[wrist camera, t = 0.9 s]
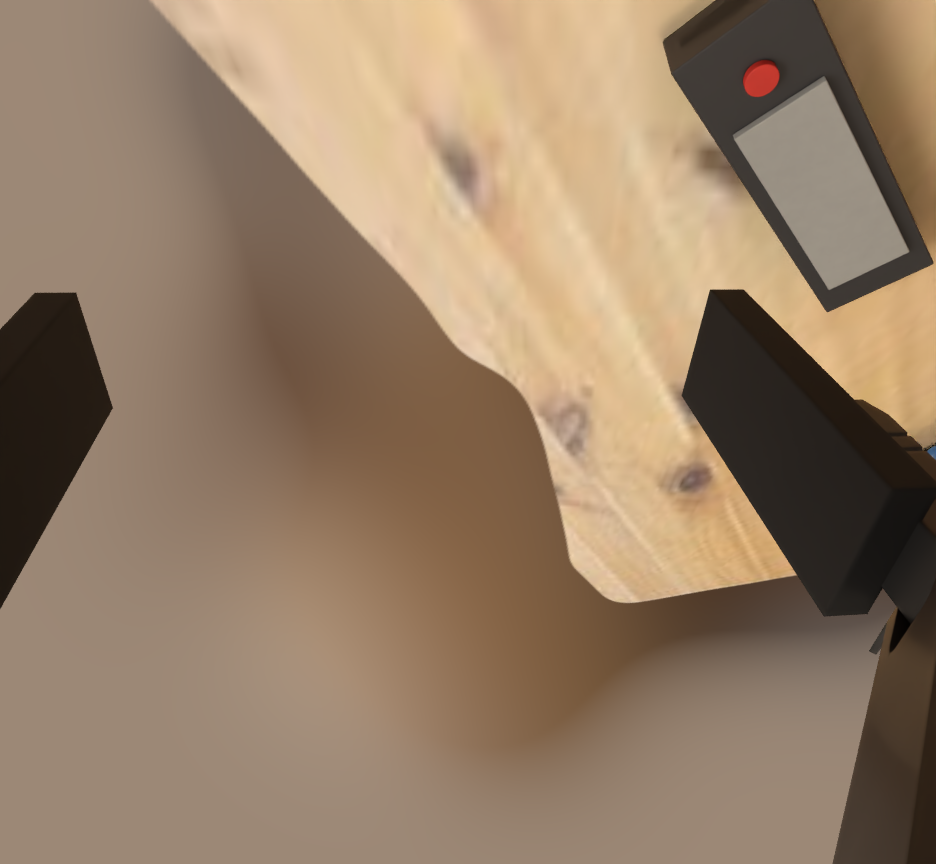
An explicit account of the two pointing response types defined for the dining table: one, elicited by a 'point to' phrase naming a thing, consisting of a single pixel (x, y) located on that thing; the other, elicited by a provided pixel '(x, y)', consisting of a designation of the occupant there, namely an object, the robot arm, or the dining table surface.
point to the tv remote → (799, 142)
